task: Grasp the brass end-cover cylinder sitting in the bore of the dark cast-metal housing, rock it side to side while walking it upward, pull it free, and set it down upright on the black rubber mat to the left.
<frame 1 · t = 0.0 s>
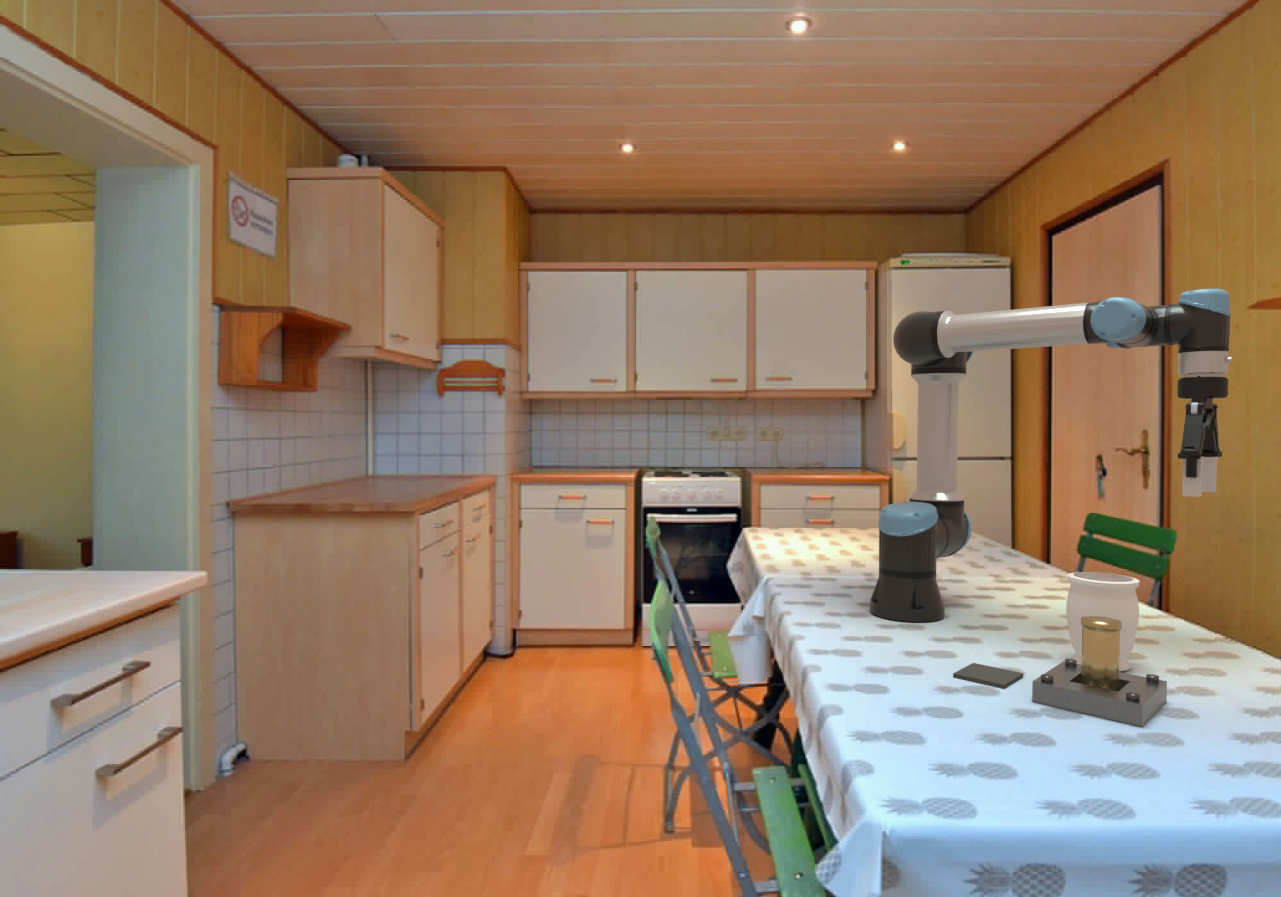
hand: (1199, 494, 145), 28 cm above the table, fingers open, 13 cm apart
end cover: (1099, 701, 117), resting in housing
housing: (1099, 701, 117), on the table
jar: (1100, 666, 135), on the table
mat: (988, 677, 129), on the table
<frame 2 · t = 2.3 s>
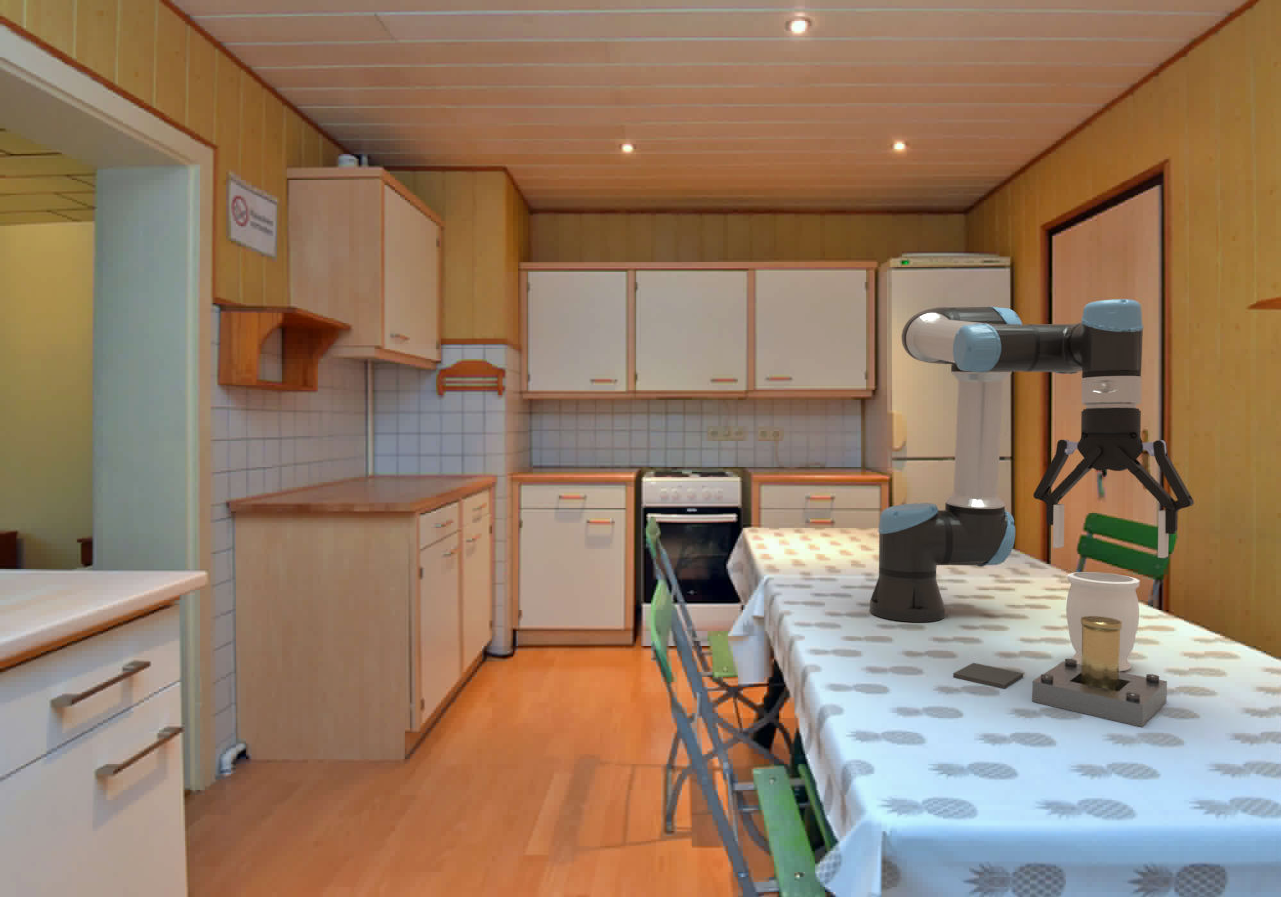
hand: (1108, 552, 118), 22 cm above the table, fingers open, 13 cm apart
nothing on the table moved.
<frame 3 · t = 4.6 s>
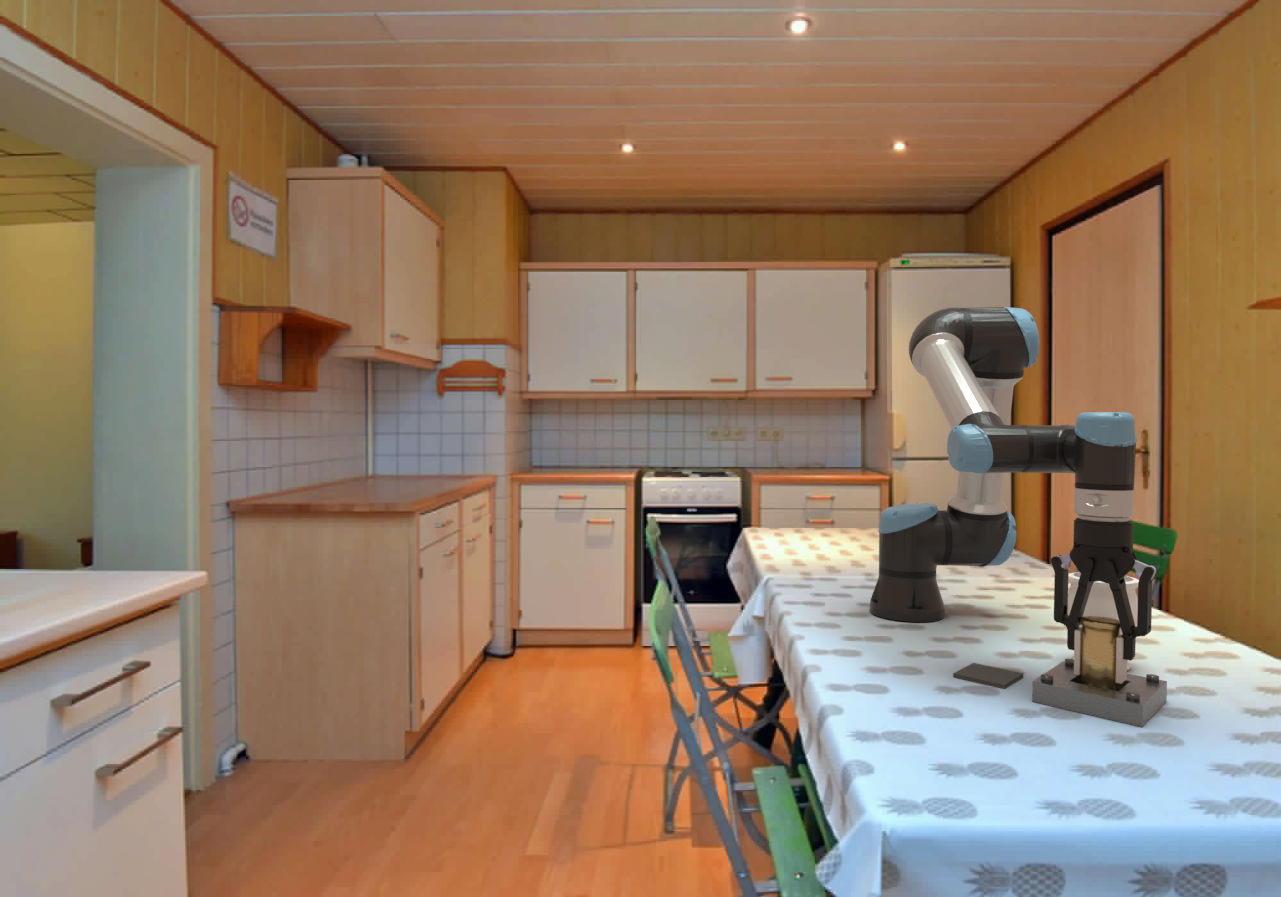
hand: (1099, 676, 117), 4 cm above the table, fingers closed on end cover, 5 cm apart
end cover: (1099, 701, 117), resting in housing, touching gripper
everything else where it was.
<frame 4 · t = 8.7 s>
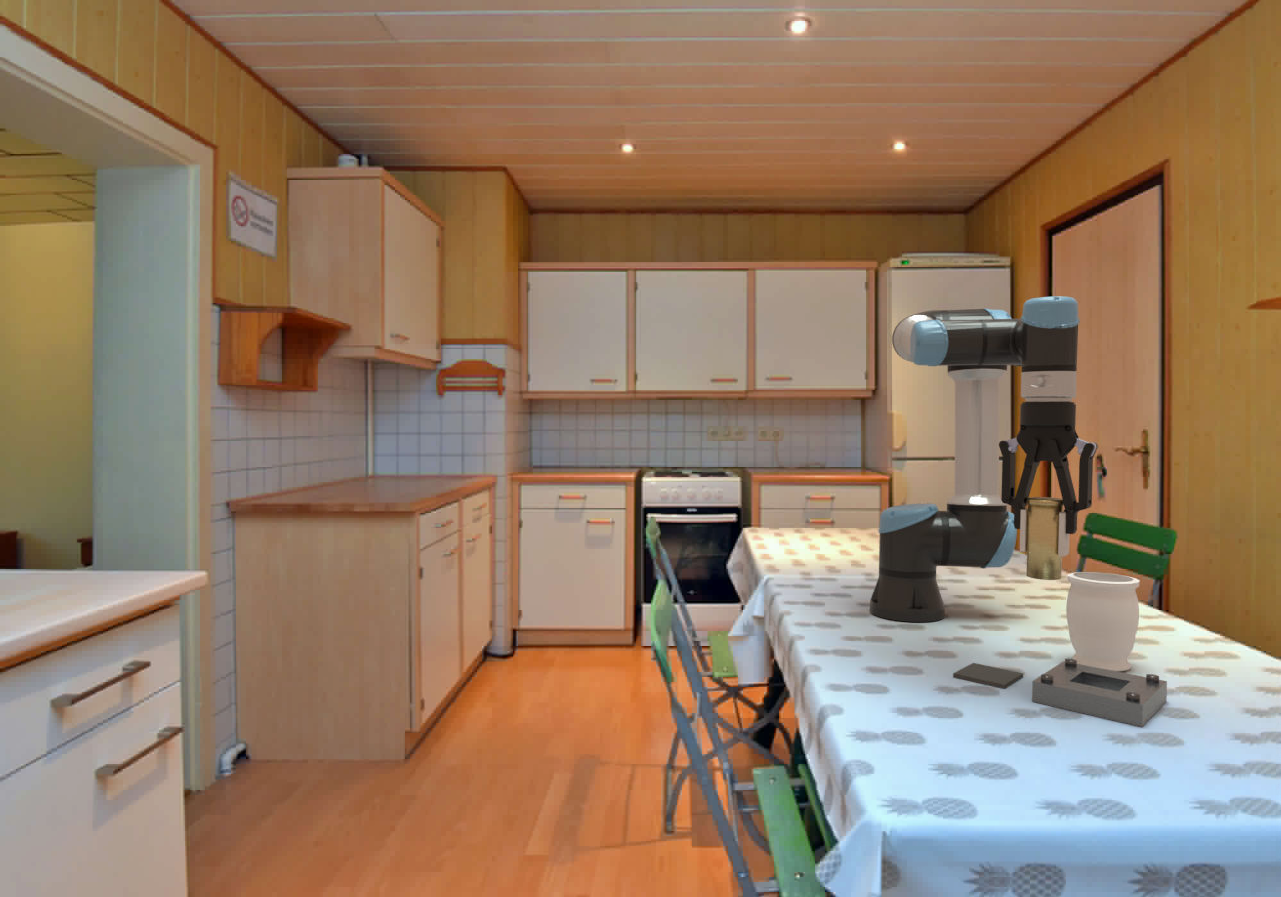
hand: (1044, 552, 123), 21 cm above the table, fingers closed on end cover, 5 cm apart
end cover: (1043, 576, 123), point 17 cm above the table, touching gripper
everything else where it was.
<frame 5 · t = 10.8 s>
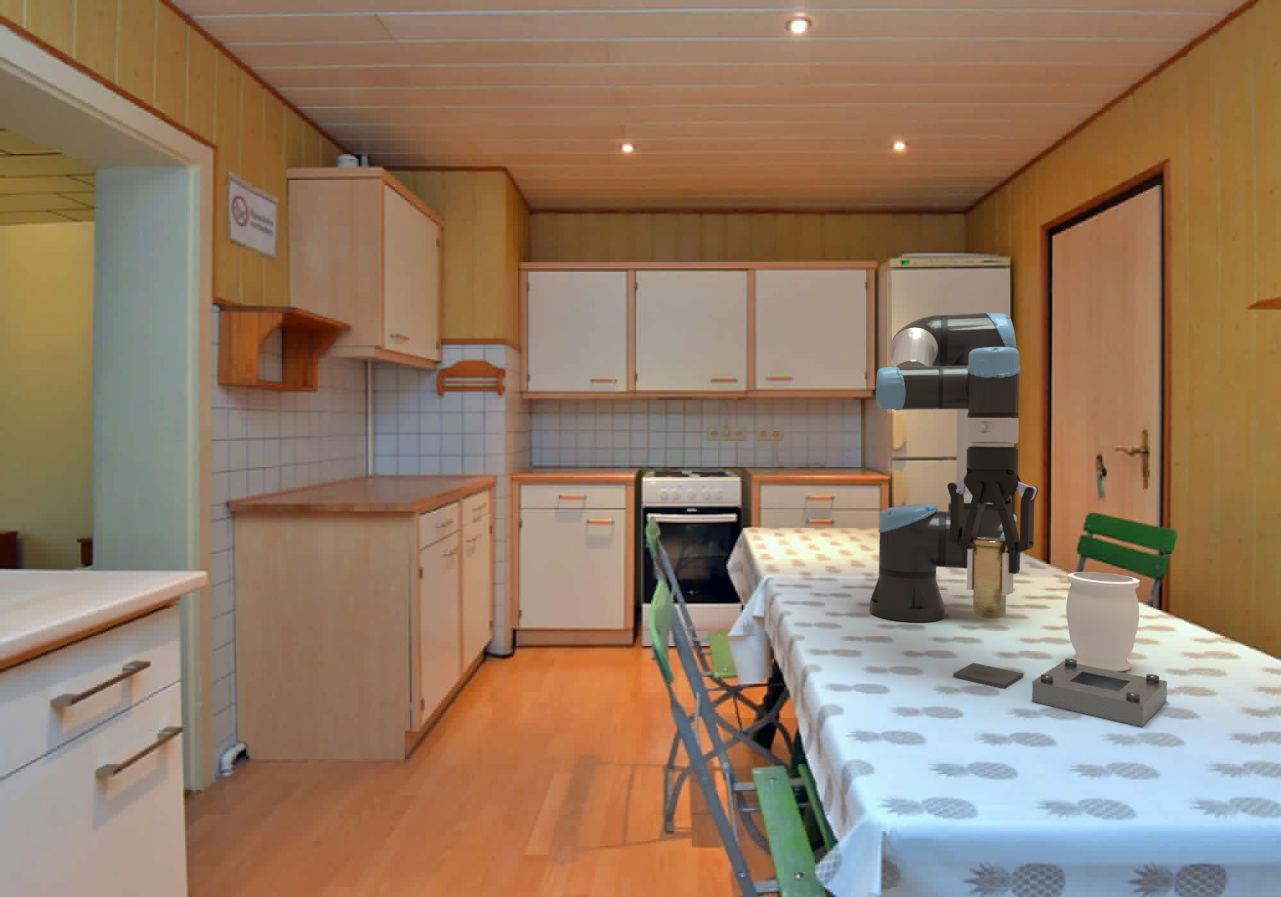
hand: (989, 590, 128), 14 cm above the table, fingers closed on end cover, 5 cm apart
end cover: (989, 614, 128), point 10 cm above the table, touching gripper
everything else where it was.
when the fingers open (5 cm above the table, at t = 12.6 s): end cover stays where it is, resting on mat.
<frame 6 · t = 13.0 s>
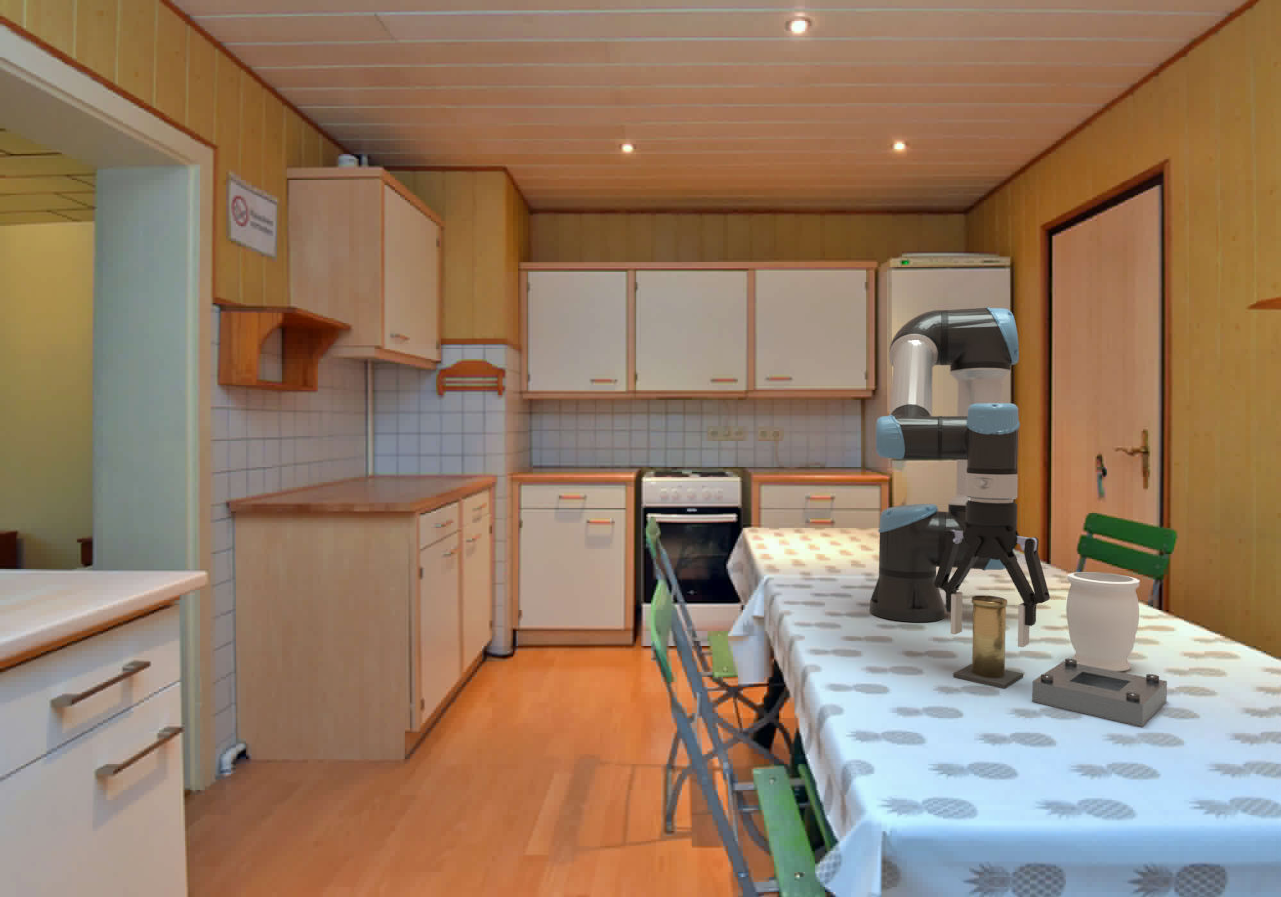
hand: (988, 638, 128), 6 cm above the table, fingers open, 10 cm apart
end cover: (988, 673, 129), point 1 cm above the table, touching mat
everything else where it was.
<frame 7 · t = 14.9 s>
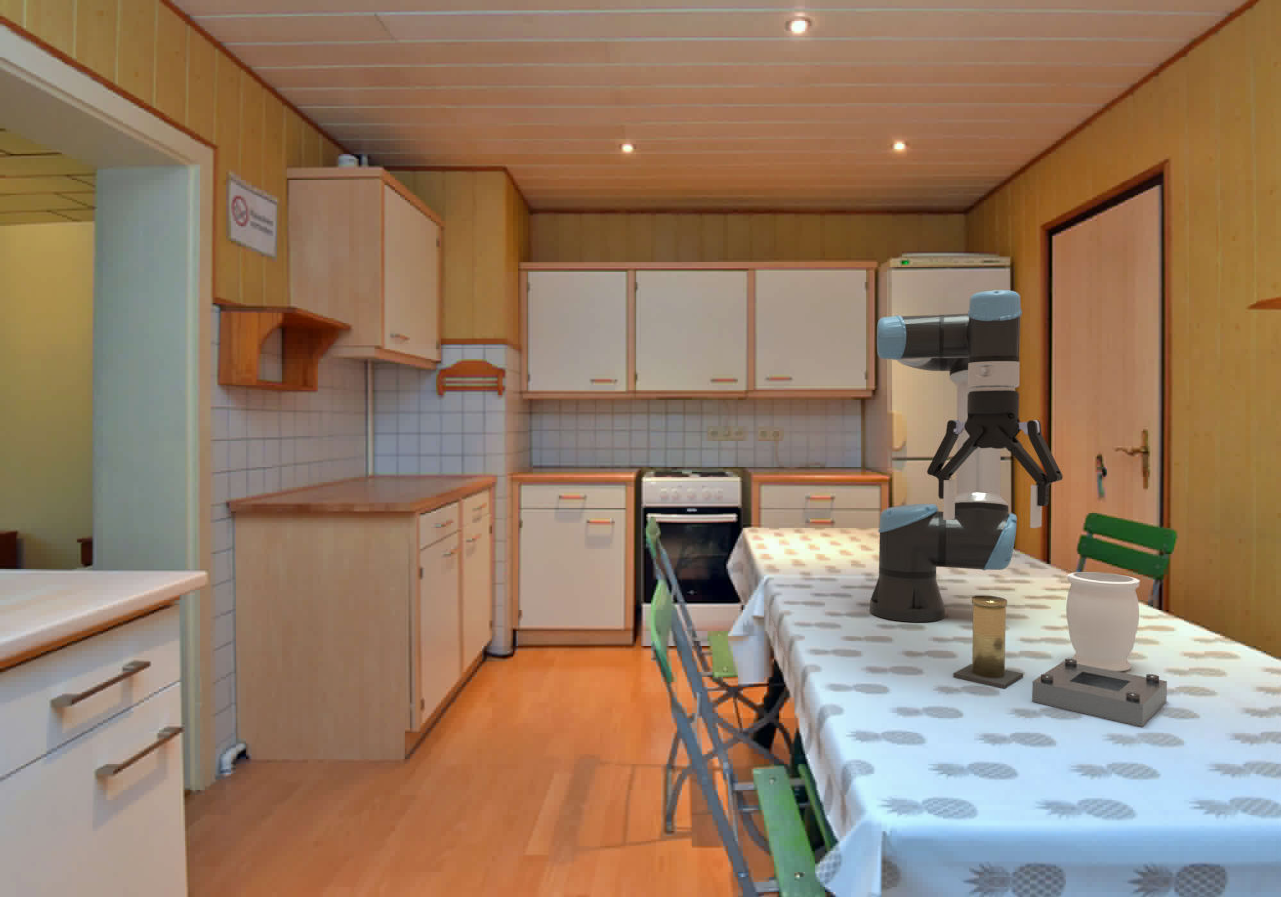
hand: (990, 523, 128), 25 cm above the table, fingers open, 13 cm apart
nothing on the table moved.
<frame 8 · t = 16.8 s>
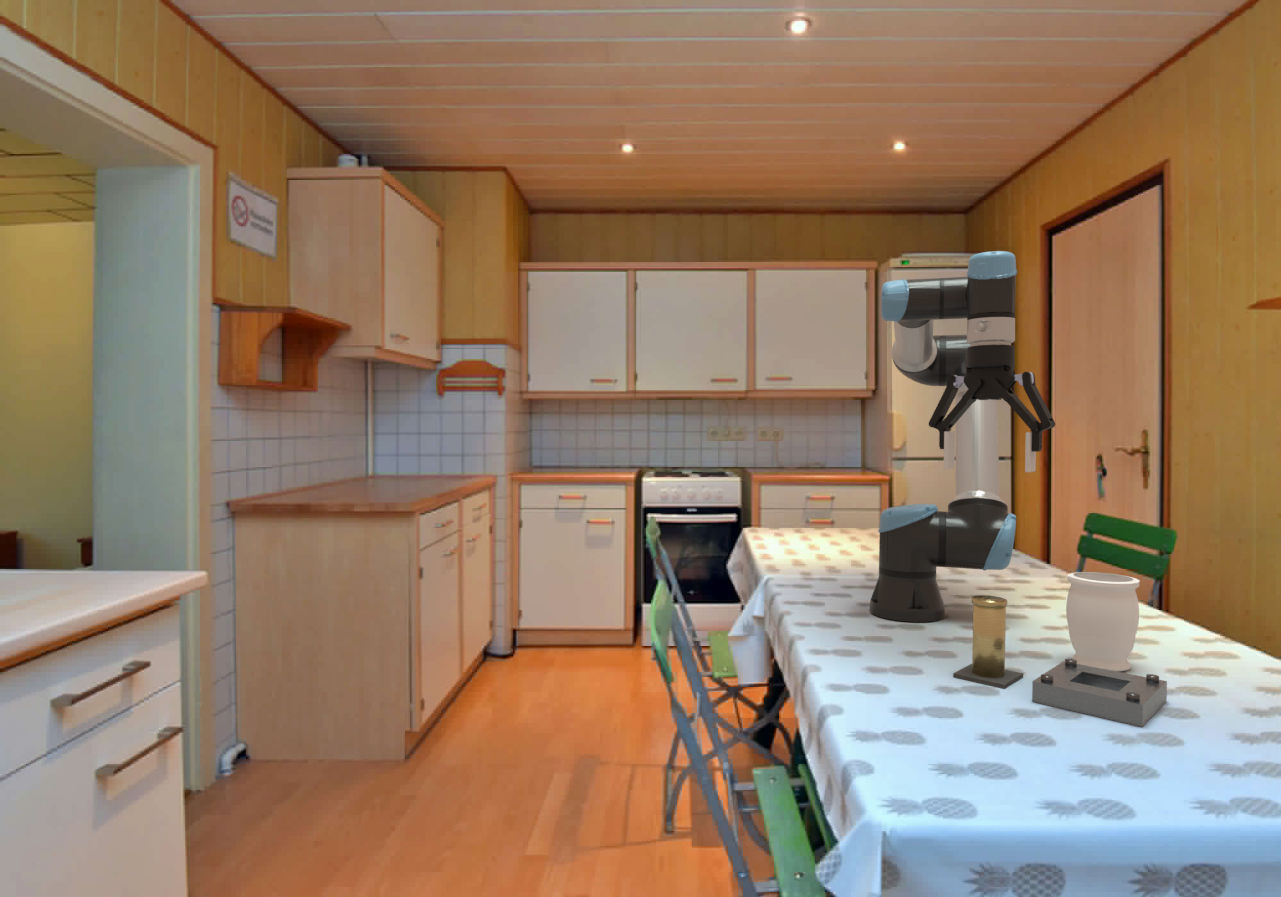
hand: (988, 470, 137), 33 cm above the table, fingers open, 13 cm apart
nothing on the table moved.
at the end: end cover inside the target area on the mat (0.0 cm from its centre), point 0.6 cm above the mat's base; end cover tilted 0°; the gripper is holding nothing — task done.
